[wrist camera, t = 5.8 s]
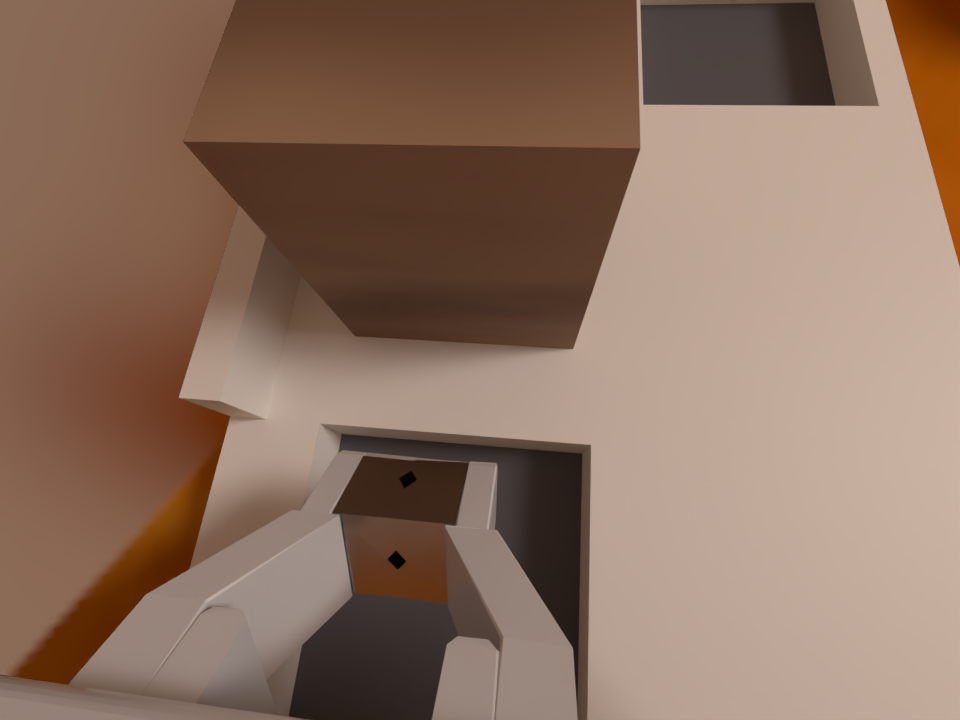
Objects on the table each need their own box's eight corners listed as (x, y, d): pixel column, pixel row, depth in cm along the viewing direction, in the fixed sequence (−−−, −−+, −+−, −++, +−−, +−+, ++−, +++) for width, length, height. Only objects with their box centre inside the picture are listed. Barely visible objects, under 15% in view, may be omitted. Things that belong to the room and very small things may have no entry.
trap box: (1049, 971, 9) (1608, 1444, 4) (174, 818, 11) (-76, 1038, 6) (805, -119, 21) (891, -307, 16) (396, -103, 23) (364, -266, 18)
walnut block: (573, 349, 12) (640, 147, 6) (355, 336, 13) (183, 141, 6) (578, 166, 14) (632, -144, 7) (388, 163, 15) (284, -127, 8)
